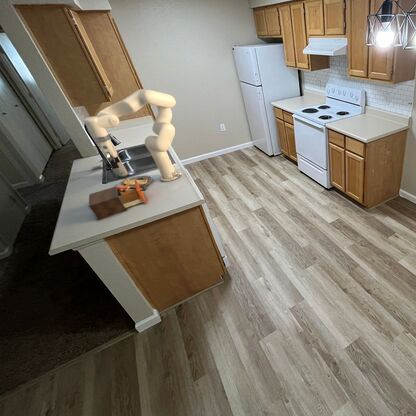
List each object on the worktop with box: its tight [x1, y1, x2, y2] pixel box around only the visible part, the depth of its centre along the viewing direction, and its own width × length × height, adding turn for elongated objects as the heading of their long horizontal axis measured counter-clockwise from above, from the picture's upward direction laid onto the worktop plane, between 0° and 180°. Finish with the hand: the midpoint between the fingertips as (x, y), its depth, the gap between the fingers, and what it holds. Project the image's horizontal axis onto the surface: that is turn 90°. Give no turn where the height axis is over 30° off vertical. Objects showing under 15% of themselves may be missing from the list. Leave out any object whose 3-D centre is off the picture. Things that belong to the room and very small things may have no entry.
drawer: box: [118, 180, 147, 209], centre depth 168 cm, size 17×16×10 cm
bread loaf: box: [121, 189, 140, 203], centre depth 168 cm, size 8×5×6 cm, turn 126°
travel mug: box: [114, 154, 129, 178], centre depth 198 cm, size 6×7×20 cm
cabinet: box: [88, 185, 127, 221], centre depth 163 cm, size 14×17×10 cm
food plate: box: [113, 175, 153, 193], centre depth 186 cm, size 25×23×4 cm
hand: (116, 165), depth 164 cm, fingers open, 9 cm apart
